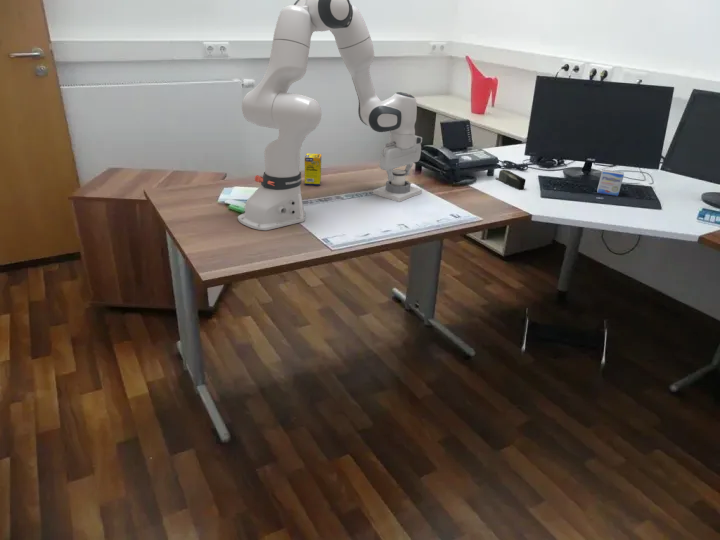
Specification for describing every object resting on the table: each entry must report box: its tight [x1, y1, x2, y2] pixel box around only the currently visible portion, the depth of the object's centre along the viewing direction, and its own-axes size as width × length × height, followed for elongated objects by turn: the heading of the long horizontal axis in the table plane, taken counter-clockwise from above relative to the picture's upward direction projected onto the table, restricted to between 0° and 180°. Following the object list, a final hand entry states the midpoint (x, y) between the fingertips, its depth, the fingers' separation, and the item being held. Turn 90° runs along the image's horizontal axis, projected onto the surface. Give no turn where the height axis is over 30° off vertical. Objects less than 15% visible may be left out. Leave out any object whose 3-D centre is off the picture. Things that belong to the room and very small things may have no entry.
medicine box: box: [596, 169, 625, 197], centre depth 216 cm, size 8×4×9 cm, turn 68°
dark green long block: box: [495, 169, 526, 191], centre depth 222 cm, size 5×3×15 cm
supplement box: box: [304, 153, 322, 187], centre depth 210 cm, size 6×6×11 cm
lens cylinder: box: [391, 168, 406, 186], centre depth 204 cm, size 5×5×7 cm
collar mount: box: [372, 179, 423, 203], centre depth 206 cm, size 14×12×4 cm
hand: (398, 177), depth 204 cm, fingers open, 8 cm apart
